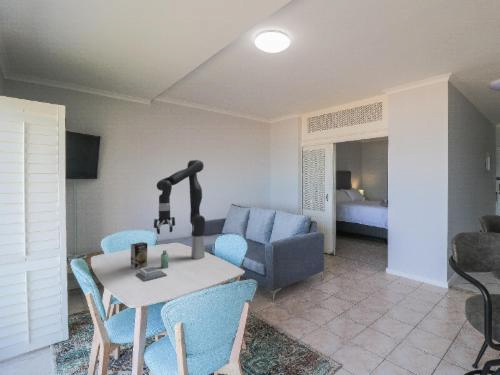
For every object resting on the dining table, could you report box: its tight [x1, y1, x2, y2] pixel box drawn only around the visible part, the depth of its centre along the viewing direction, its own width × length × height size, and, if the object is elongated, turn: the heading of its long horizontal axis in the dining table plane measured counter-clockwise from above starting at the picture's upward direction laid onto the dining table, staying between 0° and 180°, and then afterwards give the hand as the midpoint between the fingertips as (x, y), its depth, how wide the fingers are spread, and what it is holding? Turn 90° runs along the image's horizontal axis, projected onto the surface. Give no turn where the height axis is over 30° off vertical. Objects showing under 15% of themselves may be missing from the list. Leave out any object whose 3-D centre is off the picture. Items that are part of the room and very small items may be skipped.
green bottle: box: [160, 249, 169, 269], centre depth 183 cm, size 5×5×12 cm
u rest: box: [135, 265, 168, 282], centre depth 168 cm, size 14×14×4 cm
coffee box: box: [130, 241, 148, 270], centre depth 183 cm, size 9×6×16 cm
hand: (164, 233), depth 182 cm, fingers open, 8 cm apart
